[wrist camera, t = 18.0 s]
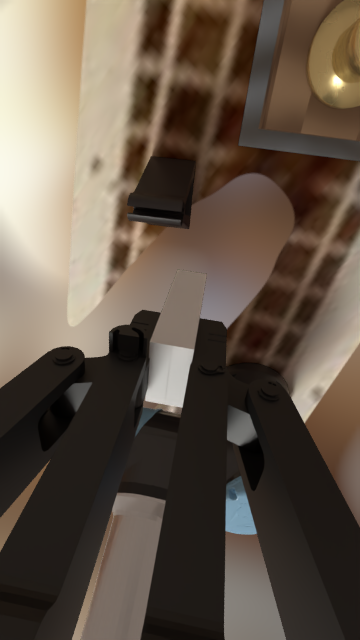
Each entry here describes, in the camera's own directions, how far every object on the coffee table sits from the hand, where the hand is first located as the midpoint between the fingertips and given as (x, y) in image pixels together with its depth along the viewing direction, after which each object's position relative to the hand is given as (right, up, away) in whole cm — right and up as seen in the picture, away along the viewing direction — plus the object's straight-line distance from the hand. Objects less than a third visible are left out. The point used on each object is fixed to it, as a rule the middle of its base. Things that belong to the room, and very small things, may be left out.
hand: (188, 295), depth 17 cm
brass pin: (+15, +25, +18) cm, 34 cm away
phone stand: (-2, +16, +29) cm, 33 cm away
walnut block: (+16, +26, +20) cm, 37 cm away
